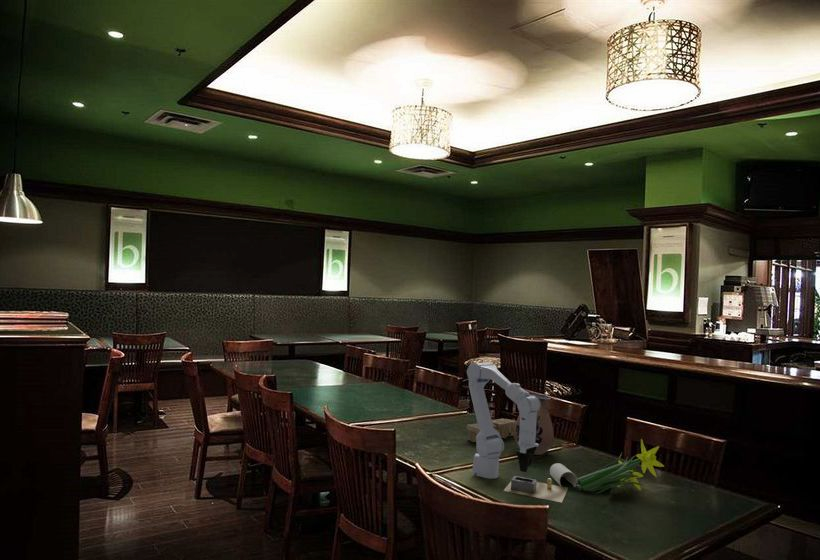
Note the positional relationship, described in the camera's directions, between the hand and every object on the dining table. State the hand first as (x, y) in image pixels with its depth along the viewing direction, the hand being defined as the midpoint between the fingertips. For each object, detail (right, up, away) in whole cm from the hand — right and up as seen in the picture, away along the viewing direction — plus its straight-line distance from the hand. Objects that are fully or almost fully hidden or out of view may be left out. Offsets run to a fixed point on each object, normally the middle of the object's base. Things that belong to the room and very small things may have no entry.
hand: (525, 468), depth 197 cm
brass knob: (+9, -8, +2) cm, 12 cm away
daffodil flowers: (+35, -12, +7) cm, 37 cm away
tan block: (-2, -10, +72) cm, 73 cm away
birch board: (+4, -9, +1) cm, 10 cm away
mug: (+17, -8, +18) cm, 26 cm away
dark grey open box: (-1, -8, 0) cm, 8 cm away
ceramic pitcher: (+15, -11, +54) cm, 57 cm away
